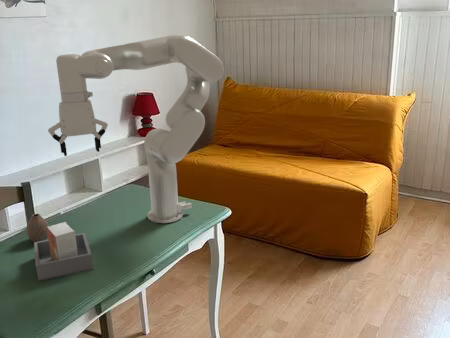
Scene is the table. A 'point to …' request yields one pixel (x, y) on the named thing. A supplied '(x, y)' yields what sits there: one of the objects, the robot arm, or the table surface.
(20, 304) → the table surface
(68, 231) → the small box
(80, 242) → the bin
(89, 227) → the table surface
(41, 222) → the vase
